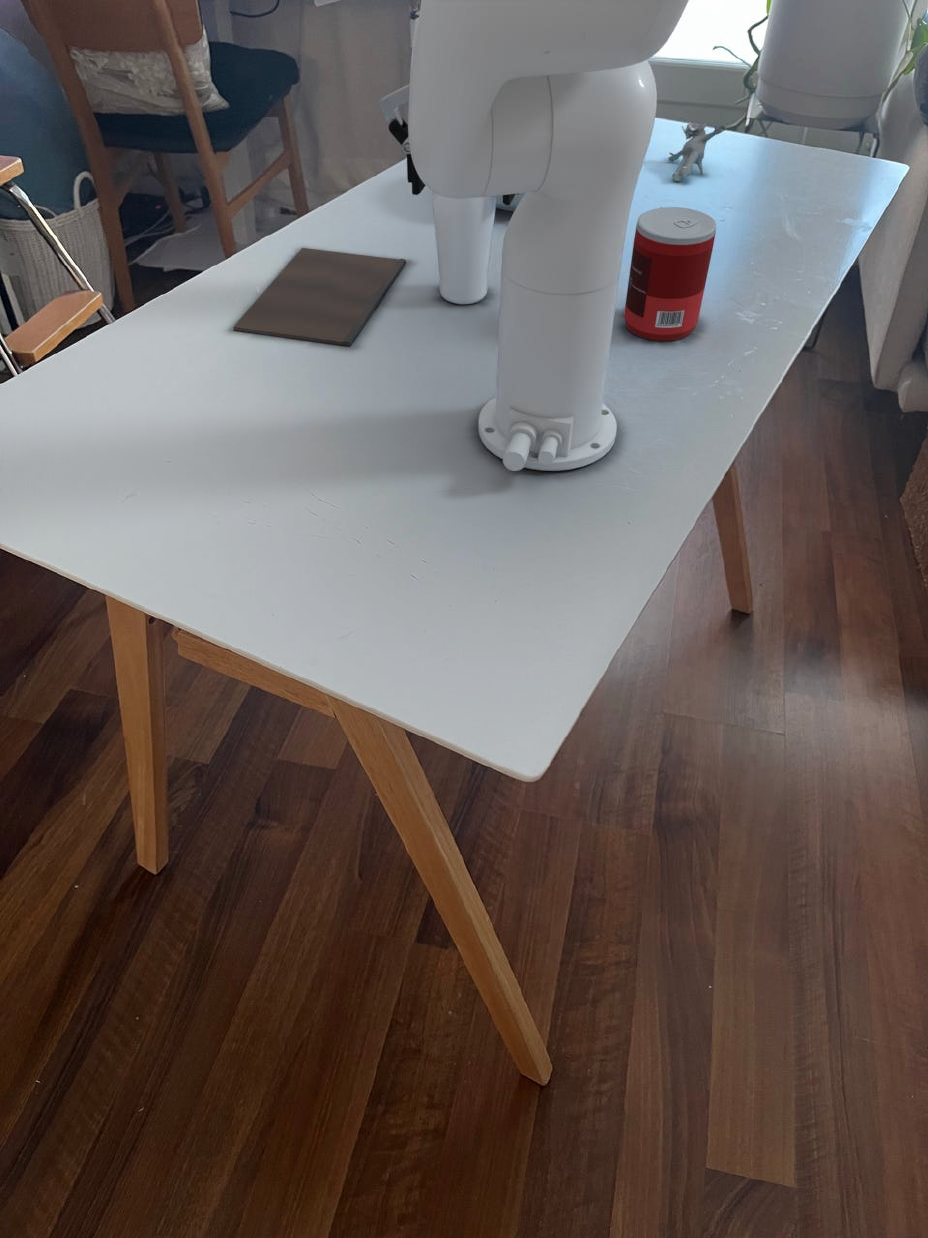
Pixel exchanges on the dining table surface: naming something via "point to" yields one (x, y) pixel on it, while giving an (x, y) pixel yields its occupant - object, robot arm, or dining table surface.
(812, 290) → the dining table surface
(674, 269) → the canned food
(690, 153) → the grey creature figurine
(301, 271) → the desk mat
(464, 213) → the drinking glass
